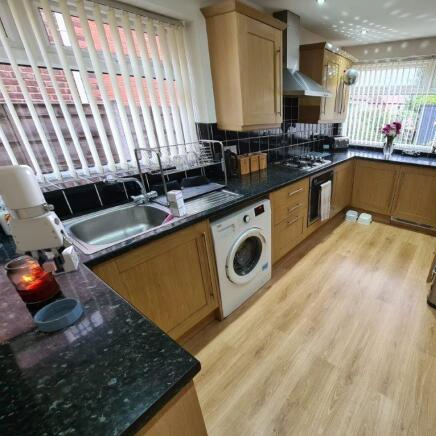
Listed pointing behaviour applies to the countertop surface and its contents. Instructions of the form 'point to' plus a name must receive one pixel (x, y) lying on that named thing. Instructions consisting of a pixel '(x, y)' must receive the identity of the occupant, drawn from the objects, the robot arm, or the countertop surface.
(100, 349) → the countertop surface
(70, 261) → the container
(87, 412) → the countertop surface
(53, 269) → the eraser
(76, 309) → the bowl
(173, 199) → the syrup box
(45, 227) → the robot arm
